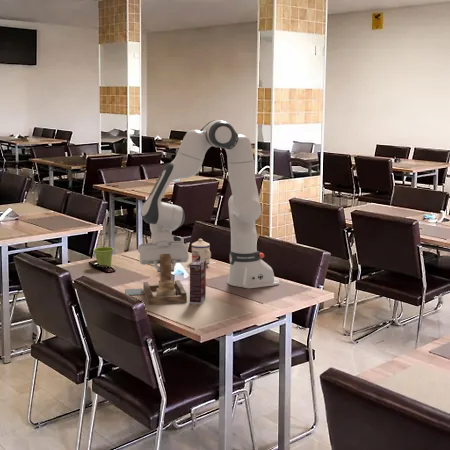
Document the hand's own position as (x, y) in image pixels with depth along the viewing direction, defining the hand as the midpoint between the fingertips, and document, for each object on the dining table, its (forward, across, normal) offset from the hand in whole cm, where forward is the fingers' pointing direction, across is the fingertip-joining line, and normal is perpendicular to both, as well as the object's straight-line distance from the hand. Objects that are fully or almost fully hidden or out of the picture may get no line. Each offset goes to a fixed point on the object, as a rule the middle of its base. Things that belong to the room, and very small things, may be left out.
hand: (165, 271), depth 269 cm
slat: (+6, 0, +7) cm, 9 cm away
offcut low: (+11, -1, +2) cm, 12 cm away
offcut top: (+8, -1, 0) cm, 8 cm away
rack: (+9, -1, +5) cm, 10 cm away
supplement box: (+16, +11, -2) cm, 19 cm away
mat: (+4, -12, +10) cm, 16 cm away
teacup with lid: (-26, +24, +40) cm, 54 cm away
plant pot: (-28, -23, +42) cm, 55 cm away
